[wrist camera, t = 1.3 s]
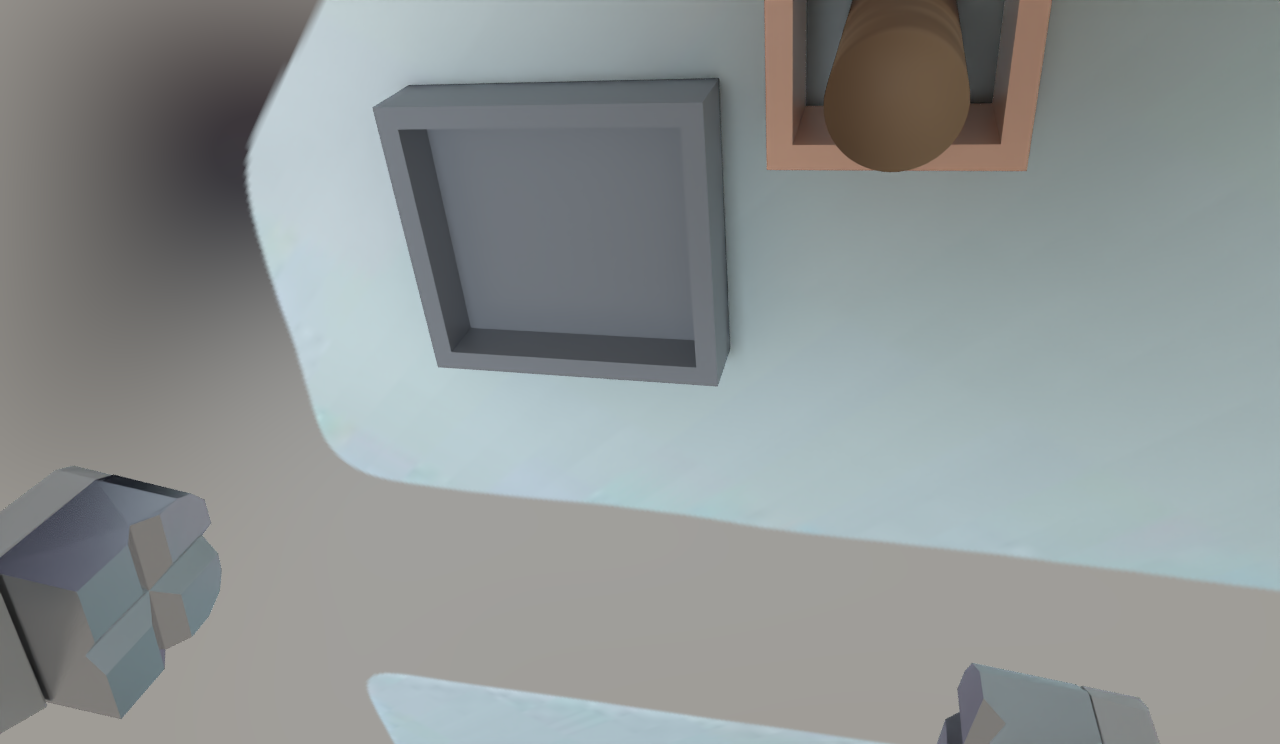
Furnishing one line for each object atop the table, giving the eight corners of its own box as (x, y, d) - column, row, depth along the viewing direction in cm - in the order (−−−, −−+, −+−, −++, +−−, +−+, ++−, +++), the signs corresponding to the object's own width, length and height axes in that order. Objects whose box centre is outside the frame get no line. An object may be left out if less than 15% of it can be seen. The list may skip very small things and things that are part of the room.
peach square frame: (1051, -138, 25) (1070, -125, 22) (1015, 127, 29) (1026, 171, 26) (781, -117, 27) (762, -102, 24) (782, 129, 31) (766, 170, 28)
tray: (718, 78, 31) (702, 102, 29) (730, 348, 37) (717, 386, 35) (408, 85, 34) (372, 107, 32) (465, 333, 40) (437, 367, 38)
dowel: (961, -49, 27) (977, 28, 19) (950, 60, 29) (962, 172, 21) (852, -43, 28) (824, 33, 20) (849, 62, 30) (822, 171, 21)
